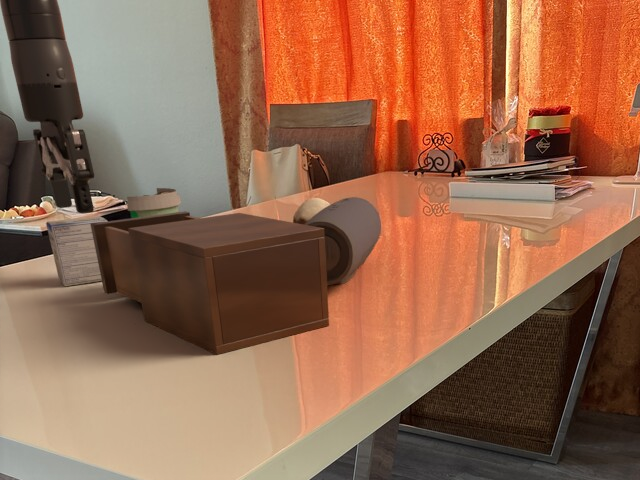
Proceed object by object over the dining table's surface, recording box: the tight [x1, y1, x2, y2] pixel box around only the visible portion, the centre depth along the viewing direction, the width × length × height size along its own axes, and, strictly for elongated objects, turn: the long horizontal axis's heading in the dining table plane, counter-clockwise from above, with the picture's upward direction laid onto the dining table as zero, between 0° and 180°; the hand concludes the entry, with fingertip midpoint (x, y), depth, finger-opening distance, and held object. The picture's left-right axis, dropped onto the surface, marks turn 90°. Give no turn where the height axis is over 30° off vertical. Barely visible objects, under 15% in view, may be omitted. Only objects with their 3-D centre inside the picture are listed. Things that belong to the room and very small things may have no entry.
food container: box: [126, 187, 182, 219], centre depth 122 cm, size 12×6×10 cm, turn 170°
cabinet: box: [128, 212, 330, 355], centre depth 82 cm, size 18×15×11 cm
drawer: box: [90, 210, 200, 303], centre depth 94 cm, size 21×14×9 cm, turn 39°
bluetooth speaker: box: [304, 196, 382, 286], centre depth 102 cm, size 23×9×10 cm, turn 169°
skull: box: [292, 197, 331, 225], centre depth 127 cm, size 12×10×10 cm
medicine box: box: [45, 215, 108, 287], centre depth 105 cm, size 8×4×9 cm, turn 121°
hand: (74, 209), depth 102 cm, fingers open, 8 cm apart
